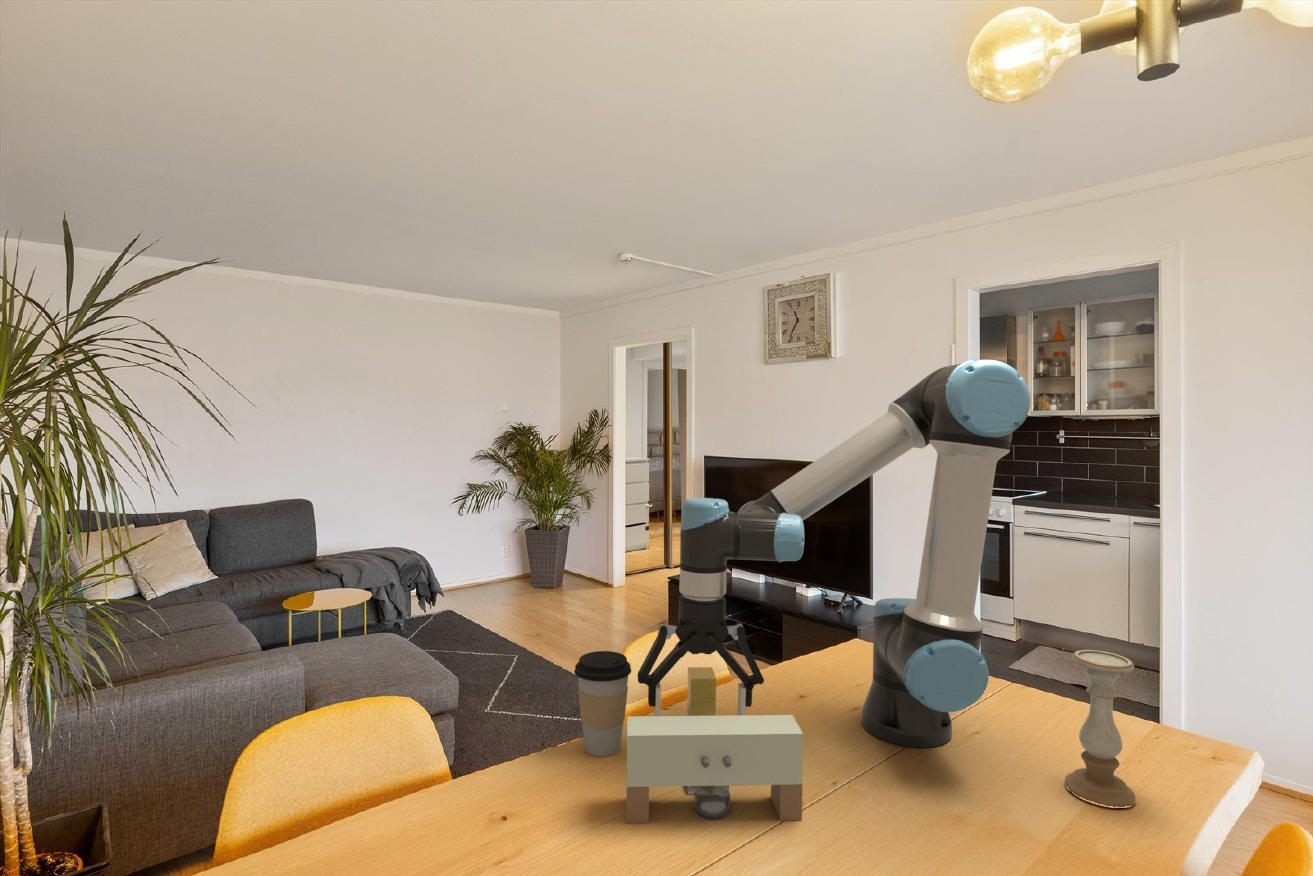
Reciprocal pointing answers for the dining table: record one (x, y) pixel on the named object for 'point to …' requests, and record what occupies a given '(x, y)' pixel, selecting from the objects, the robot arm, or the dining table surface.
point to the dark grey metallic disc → (712, 802)
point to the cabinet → (715, 757)
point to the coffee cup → (602, 700)
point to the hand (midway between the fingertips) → (699, 725)
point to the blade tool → (701, 698)
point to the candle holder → (1101, 733)
